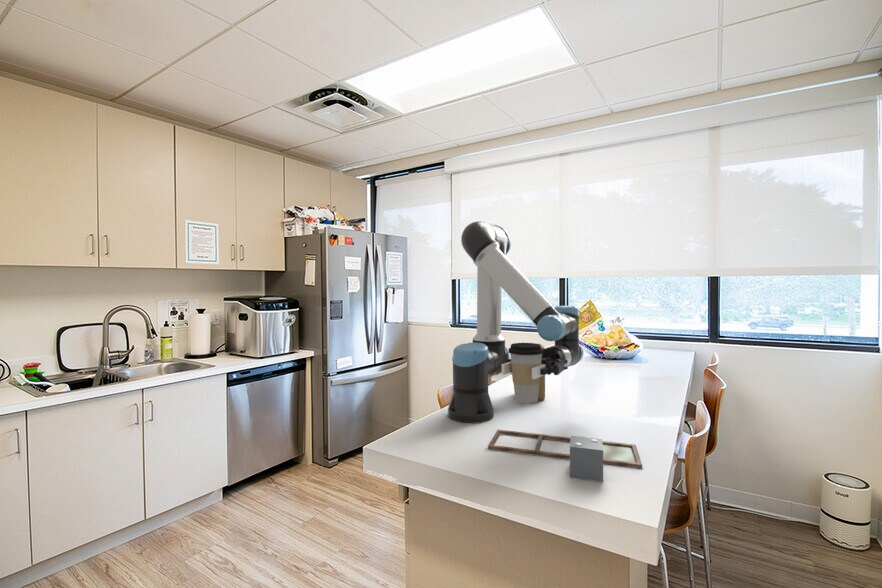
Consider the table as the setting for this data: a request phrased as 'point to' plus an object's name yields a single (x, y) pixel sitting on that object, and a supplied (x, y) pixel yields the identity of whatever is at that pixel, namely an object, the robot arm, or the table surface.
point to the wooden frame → (611, 454)
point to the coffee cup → (525, 370)
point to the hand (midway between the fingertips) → (517, 371)
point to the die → (586, 458)
